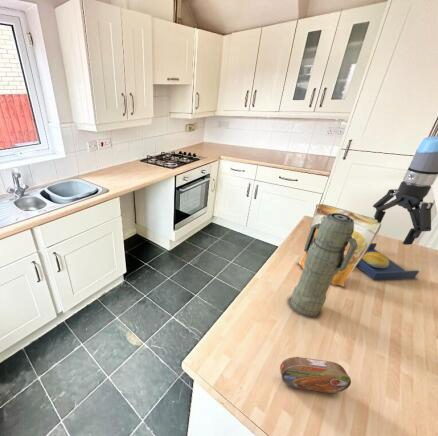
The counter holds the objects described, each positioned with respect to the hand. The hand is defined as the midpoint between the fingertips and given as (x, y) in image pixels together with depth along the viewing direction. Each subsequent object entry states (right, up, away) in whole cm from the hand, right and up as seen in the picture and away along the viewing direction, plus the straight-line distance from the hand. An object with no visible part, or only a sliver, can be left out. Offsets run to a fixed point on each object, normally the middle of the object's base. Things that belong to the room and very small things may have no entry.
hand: (390, 234), depth 95 cm
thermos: (-42, -24, -12) cm, 50 cm away
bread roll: (0, -12, +7) cm, 14 cm away
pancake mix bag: (-26, -16, +2) cm, 31 cm away
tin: (-55, -36, -33) cm, 73 cm away
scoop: (-5, -13, +7) cm, 15 cm away
